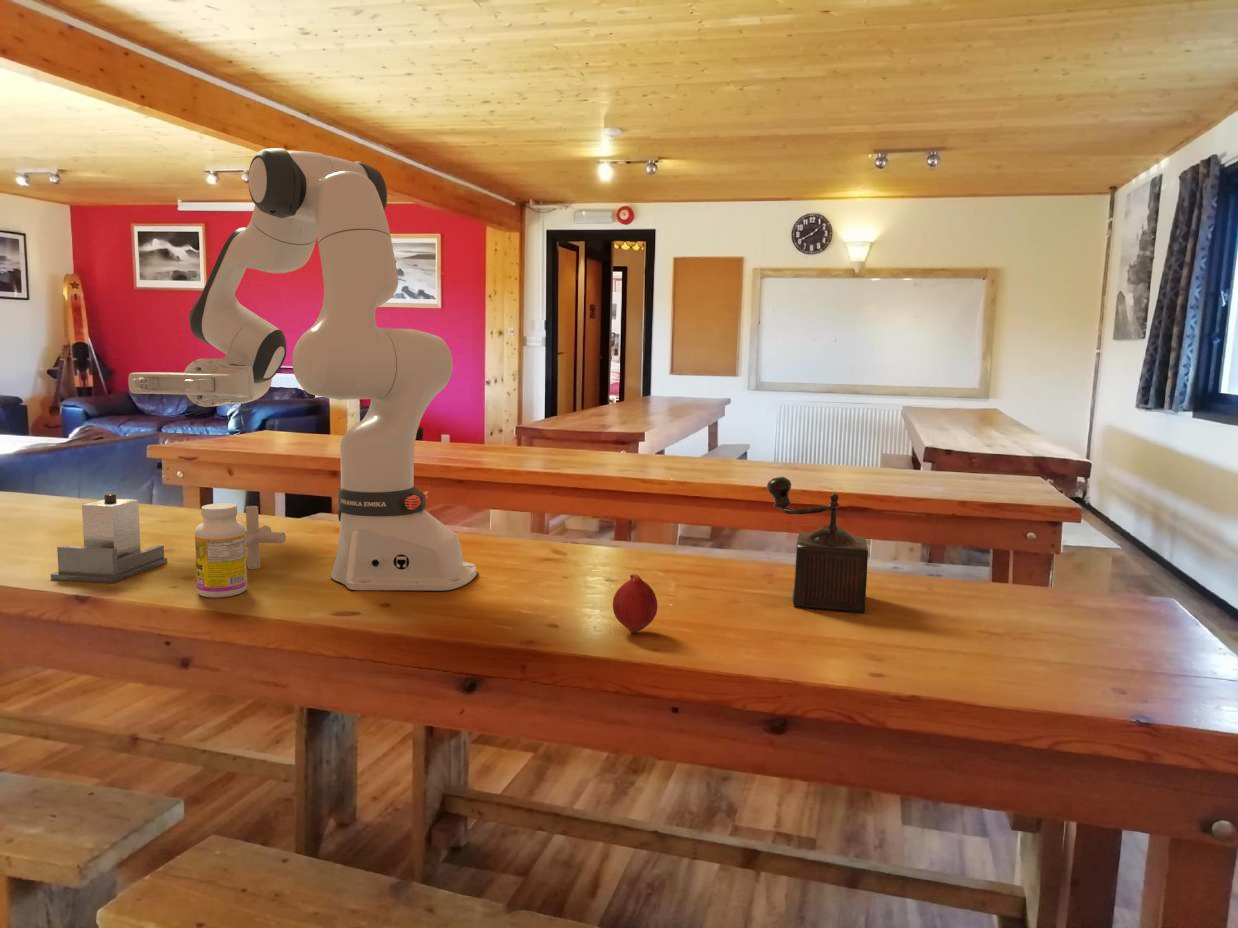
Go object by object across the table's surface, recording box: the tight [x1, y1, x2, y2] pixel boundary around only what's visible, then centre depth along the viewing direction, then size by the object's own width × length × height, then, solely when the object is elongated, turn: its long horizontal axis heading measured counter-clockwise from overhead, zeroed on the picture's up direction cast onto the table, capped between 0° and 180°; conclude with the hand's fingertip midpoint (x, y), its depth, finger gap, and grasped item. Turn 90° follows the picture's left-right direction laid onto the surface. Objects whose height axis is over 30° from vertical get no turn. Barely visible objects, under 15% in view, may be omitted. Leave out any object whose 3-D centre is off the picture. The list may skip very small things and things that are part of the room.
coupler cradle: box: [50, 544, 168, 584], centre depth 136 cm, size 10×13×5 cm
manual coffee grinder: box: [766, 476, 869, 614], centre depth 130 cm, size 16×11×18 cm
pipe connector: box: [245, 505, 287, 570], centre depth 140 cm, size 10×10×10 cm
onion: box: [612, 573, 659, 634], centre depth 113 cm, size 6×6×8 cm
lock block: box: [81, 493, 142, 559], centre depth 136 cm, size 5×6×11 cm
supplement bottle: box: [194, 502, 248, 599], centre depth 125 cm, size 7×7×13 cm
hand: (162, 384), depth 147 cm, fingers open, 8 cm apart
